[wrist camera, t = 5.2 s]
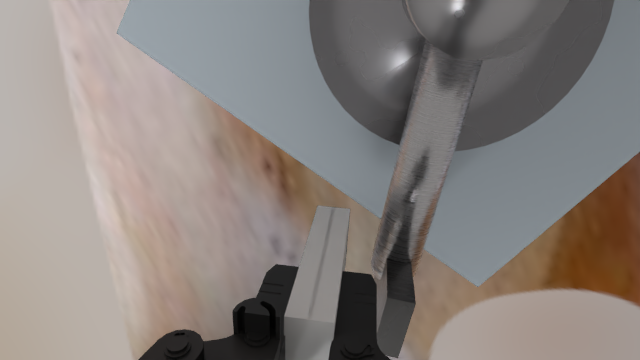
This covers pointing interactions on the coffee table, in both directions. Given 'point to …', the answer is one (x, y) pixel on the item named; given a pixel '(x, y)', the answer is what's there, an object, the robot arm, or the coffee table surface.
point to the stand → (380, 155)
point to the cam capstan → (443, 99)
